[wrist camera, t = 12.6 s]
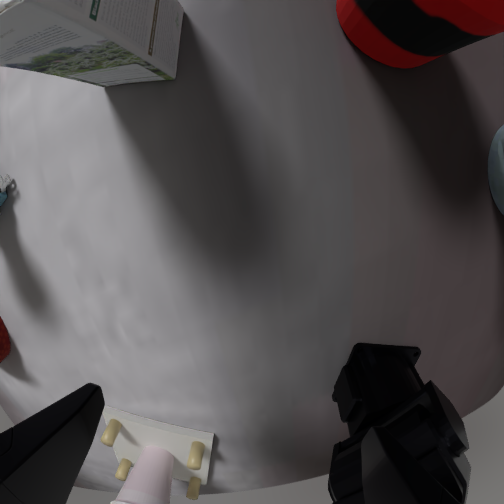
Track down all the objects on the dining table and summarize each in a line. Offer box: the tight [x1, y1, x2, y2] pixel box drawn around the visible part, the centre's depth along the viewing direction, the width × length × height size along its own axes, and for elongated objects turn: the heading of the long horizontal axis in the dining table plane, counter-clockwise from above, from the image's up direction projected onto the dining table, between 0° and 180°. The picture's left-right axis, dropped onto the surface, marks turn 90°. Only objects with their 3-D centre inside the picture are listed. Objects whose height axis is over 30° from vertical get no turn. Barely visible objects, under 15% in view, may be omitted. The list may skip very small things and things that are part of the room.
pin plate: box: [101, 405, 214, 500], centre depth 27 cm, size 12×12×4 cm
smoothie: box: [110, 446, 174, 504], centre depth 21 cm, size 6×6×14 cm
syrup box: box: [0, 0, 184, 87], centre depth 9 cm, size 6×6×14 cm
